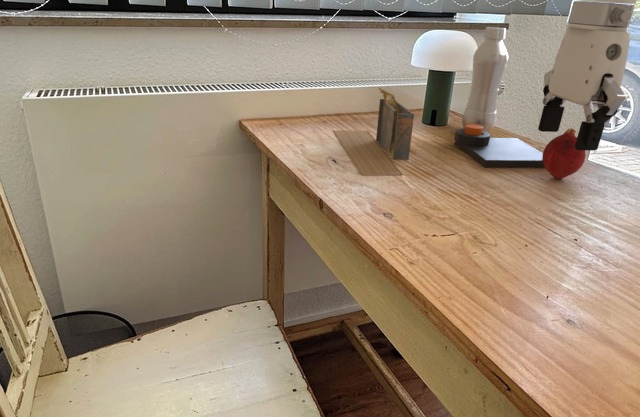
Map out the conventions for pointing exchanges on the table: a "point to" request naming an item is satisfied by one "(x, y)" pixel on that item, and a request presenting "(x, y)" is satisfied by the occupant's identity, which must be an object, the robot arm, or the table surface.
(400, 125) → the ruin model on sheet
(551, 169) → the onion
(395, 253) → the table surface
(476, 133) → the button
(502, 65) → the plastic bottle
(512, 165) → the scale
